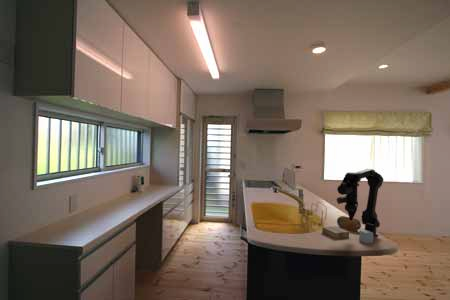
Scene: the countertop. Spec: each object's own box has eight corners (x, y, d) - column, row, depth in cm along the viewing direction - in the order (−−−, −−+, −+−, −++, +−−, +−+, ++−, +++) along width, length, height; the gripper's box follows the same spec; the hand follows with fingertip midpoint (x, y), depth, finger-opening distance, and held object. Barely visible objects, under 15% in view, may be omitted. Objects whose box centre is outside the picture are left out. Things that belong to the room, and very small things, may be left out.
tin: (336, 226, 168) (337, 215, 168) (338, 226, 170) (338, 214, 170) (359, 232, 157) (360, 220, 157) (361, 231, 160) (361, 219, 160)
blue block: (365, 239, 145) (366, 230, 145) (373, 242, 140) (373, 232, 140) (359, 240, 143) (359, 230, 143) (366, 243, 138) (366, 233, 138)
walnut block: (335, 232, 157) (335, 226, 157) (348, 238, 147) (349, 231, 147) (322, 233, 154) (322, 227, 154) (334, 239, 144) (335, 233, 144)
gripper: (339, 189, 156) (338, 213, 156) (335, 194, 140) (335, 220, 140) (358, 191, 150) (357, 215, 150) (357, 196, 134) (356, 223, 134)
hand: (351, 218), depth 144 cm, fingers open, 9 cm apart
